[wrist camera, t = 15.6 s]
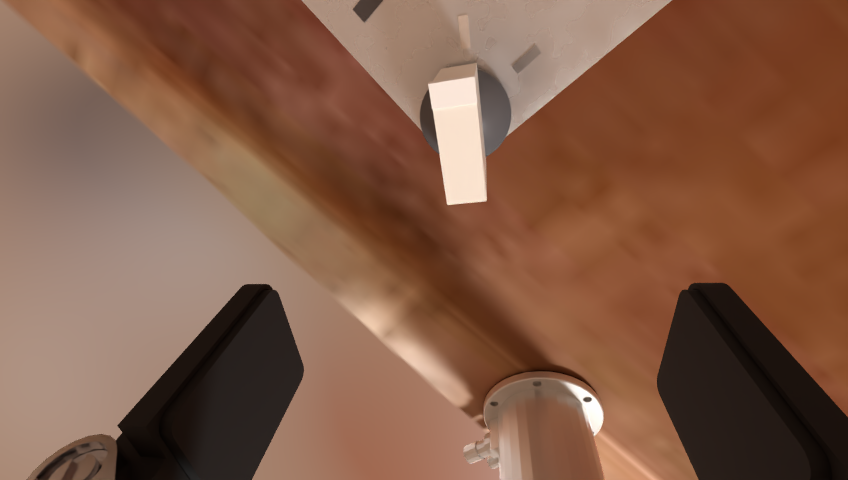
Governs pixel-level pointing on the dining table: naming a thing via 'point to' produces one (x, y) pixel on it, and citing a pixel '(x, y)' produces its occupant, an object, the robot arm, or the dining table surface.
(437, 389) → the dining table surface
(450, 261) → the dining table surface
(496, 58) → the console
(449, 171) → the dial
